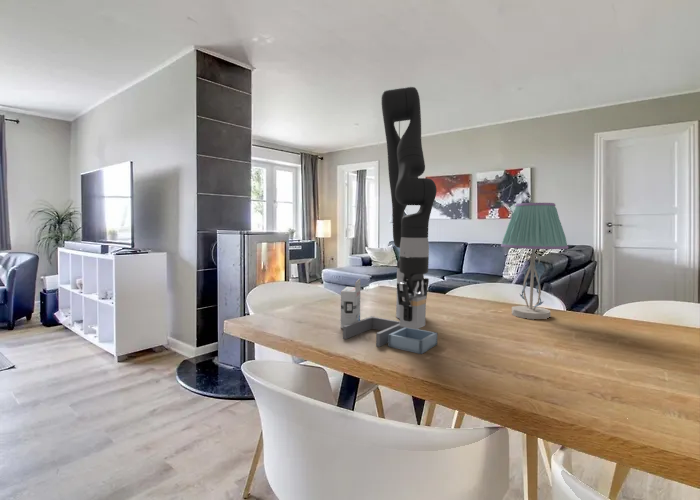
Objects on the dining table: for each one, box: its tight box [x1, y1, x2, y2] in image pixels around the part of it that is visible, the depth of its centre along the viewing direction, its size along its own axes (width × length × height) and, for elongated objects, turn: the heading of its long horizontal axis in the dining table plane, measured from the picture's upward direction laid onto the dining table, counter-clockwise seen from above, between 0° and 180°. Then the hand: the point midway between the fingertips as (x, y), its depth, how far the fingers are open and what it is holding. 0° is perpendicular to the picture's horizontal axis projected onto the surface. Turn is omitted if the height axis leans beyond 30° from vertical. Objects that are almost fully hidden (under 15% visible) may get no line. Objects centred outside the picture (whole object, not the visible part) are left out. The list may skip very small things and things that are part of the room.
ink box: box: [340, 278, 362, 329], centre depth 119 cm, size 9×5×15 cm, turn 168°
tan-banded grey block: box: [399, 294, 427, 329], centre depth 100 cm, size 5×5×8 cm
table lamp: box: [500, 202, 569, 320], centre depth 134 cm, size 22×22×40 cm
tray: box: [387, 327, 438, 355], centre depth 100 cm, size 10×10×3 cm
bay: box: [342, 315, 404, 348], centre depth 108 cm, size 14×12×4 cm
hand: (412, 318), depth 100 cm, fingers closed on tan-banded grey block, 5 cm apart
